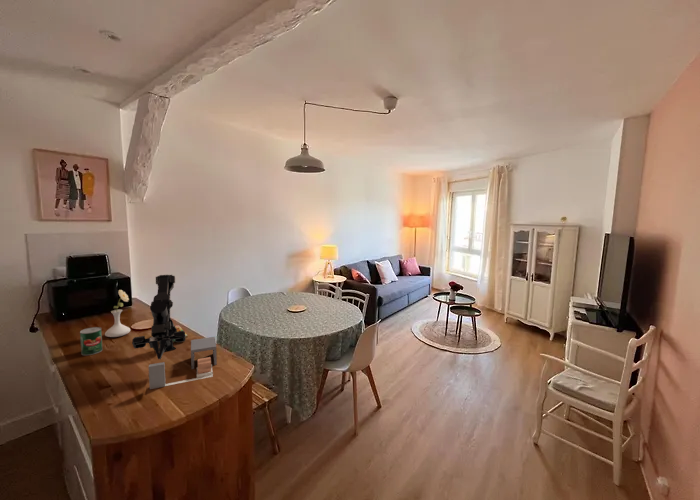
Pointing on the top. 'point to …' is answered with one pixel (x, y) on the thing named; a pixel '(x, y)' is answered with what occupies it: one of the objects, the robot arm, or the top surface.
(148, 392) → the top surface
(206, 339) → the tunnel
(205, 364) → the block
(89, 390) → the top surface
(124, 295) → the flower in vase
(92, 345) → the canned tomato
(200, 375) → the grey white bent piece
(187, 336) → the puzzle game
